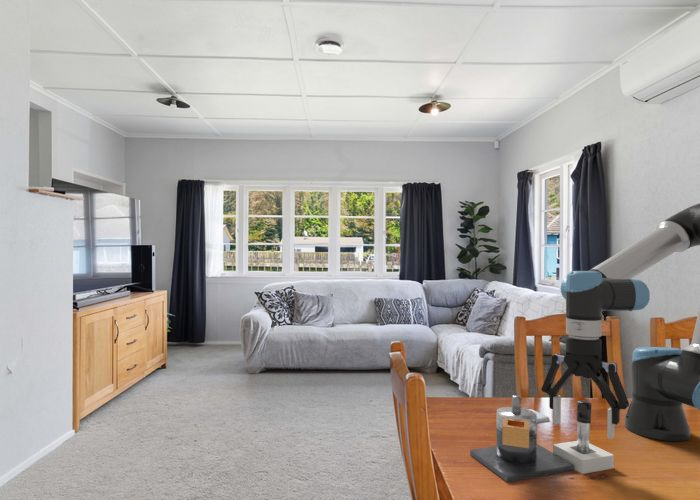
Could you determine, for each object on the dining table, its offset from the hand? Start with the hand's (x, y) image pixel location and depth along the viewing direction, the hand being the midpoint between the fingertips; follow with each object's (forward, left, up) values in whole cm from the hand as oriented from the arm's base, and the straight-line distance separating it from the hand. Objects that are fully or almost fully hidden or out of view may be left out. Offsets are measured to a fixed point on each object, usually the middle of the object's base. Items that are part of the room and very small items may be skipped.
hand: (582, 430), depth 109 cm
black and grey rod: (0, 0, -7) cm, 7 cm away
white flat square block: (0, 0, -8) cm, 8 cm away
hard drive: (-6, -28, -8) cm, 30 cm away
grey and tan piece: (+16, -4, 0) cm, 16 cm away
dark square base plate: (+14, -5, -8) cm, 17 cm away
